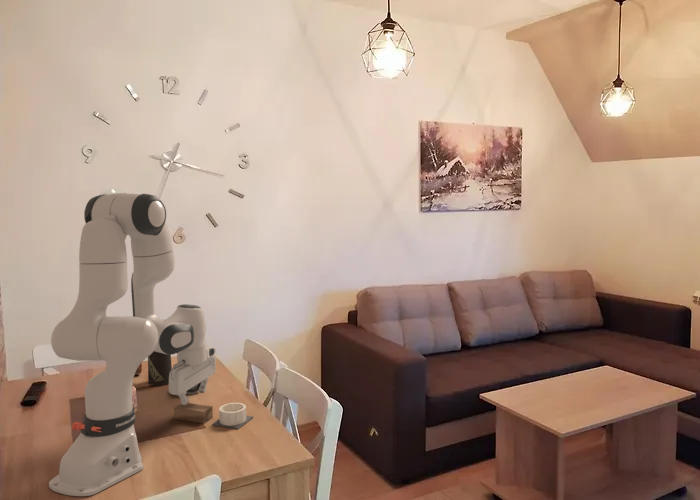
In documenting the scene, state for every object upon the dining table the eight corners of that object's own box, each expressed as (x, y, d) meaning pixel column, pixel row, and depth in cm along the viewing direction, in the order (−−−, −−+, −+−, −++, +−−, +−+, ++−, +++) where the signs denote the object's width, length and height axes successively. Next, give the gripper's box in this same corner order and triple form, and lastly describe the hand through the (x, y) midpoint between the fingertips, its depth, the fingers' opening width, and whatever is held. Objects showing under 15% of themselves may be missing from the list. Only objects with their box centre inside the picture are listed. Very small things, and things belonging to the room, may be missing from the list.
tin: (123, 368, 222) (122, 348, 221) (131, 367, 224) (130, 346, 223) (135, 378, 211) (134, 356, 210) (143, 376, 213) (142, 355, 212)
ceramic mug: (200, 385, 202) (199, 364, 201) (203, 392, 195) (202, 371, 194) (170, 390, 198) (168, 369, 197) (172, 397, 191) (171, 376, 190)
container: (146, 380, 208) (144, 328, 206) (171, 377, 211) (169, 326, 209) (149, 387, 200) (146, 333, 198) (174, 384, 204) (172, 331, 202)
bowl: (237, 427, 165) (237, 414, 164) (214, 423, 167) (214, 410, 167) (251, 416, 172) (250, 404, 172) (229, 413, 175) (228, 401, 174)
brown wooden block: (204, 424, 168) (204, 411, 168) (174, 419, 172) (173, 407, 172) (212, 418, 173) (212, 406, 172) (183, 414, 176) (182, 402, 176)
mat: (238, 429, 164) (238, 428, 164) (212, 425, 167) (212, 423, 167) (253, 417, 172) (253, 416, 172) (228, 414, 176) (228, 412, 175)
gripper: (180, 367, 160) (182, 412, 162) (218, 346, 179) (220, 387, 181) (162, 365, 162) (164, 409, 164) (201, 344, 181) (203, 385, 183)
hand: (194, 397), depth 173 cm, fingers open, 8 cm apart
